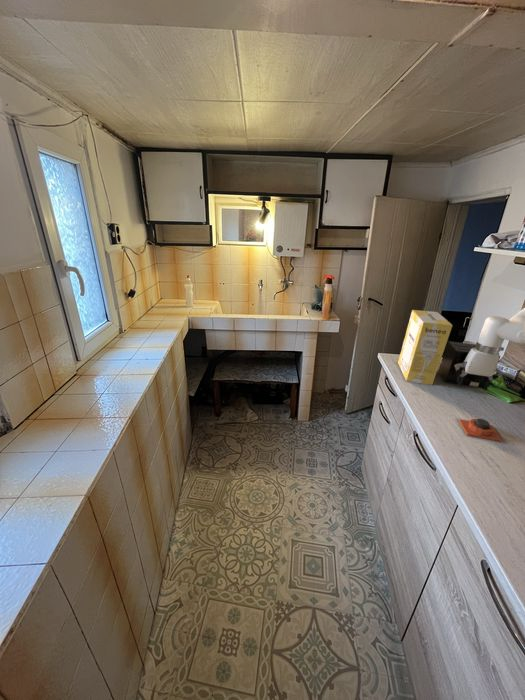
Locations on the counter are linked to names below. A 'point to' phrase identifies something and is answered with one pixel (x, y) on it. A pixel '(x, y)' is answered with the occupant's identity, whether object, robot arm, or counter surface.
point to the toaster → (453, 356)
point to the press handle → (471, 380)
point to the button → (482, 424)
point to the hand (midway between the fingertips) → (471, 386)
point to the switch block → (479, 430)
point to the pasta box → (423, 346)
